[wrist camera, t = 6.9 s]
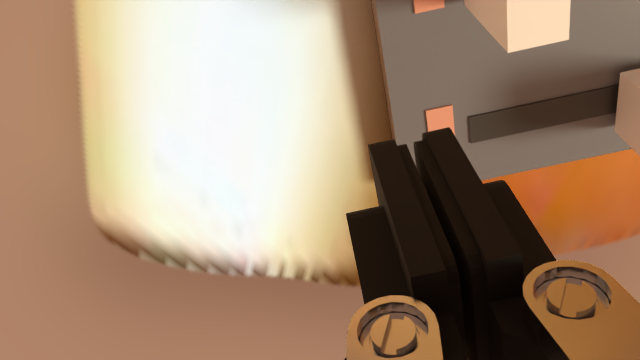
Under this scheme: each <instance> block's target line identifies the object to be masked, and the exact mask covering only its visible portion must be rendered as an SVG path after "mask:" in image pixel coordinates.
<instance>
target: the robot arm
mask: <svg viewBox="0 0 640 360" xmlns="http://www.w3.org/2000/svg"><path fill="white" fill-rule="evenodd" d="M368 147H369V154H370V159H371V165H372V170H373V176H374V181H375V187H376V192H377V198H378V203H379V207H374V208H369V209H365V210H360V211H355V212H351V213H346V216H347V221H348V226H349V231H350V236H351V241H352V246H353V250H354V255H355V260H356V265H357V270H358V275H359V280H360V284H361V289H362V294H363V299H364V304H365V305H364V306H362V307H361V308H360V309H359V310H358V311H357V312H356V313H355V314H354V316H353V317H352V319H351V321H350V323H349V327H348V332H347V357H346V358H345V360H640V303H639V302H637V300H636V299H634V297H633V296H632V295H631V294H630V293H629V292H628V291H627V290H626V289H624V287H623V286H621V285H620V284H619V283H618V281H616V280H615V279H614V278H613V277H612V276H611V275H609V274H608V273H607V272H605V271H604V270H603V269H601V268H598V267H596V266H593V265H592V264H589V263H584V262H580V261H575V260H558V261H556V259H555V258H554V256H553V255H552V253H551V251H550V250H549V248H548V247H547V245H546V244H545V242H544V241H543V239H542V237H541V236H540V234H539V233H538V231H537V230H536V228H535V227H534V225H533V223H532V222H531V220H530V219H529V217H528V216H527V214H526V213H525V211H524V209H523V208H522V206H521V205H520V203H519V202H518V200H517V199H516V197H515V195H514V194H513V192H512V191H511V189H510V188H509V186H508V185H507V184H506V182H505V181H503V180H499V181H495V182H490V183H485V184H483V183H482V182H481V180H480V178H479V176H478V175H477V173H476V171H475V170H474V168H473V166H472V164H471V163H470V161H469V159H468V157H467V156H466V154H465V152H464V151H463V149H462V147H461V145H460V144H459V142H458V140H457V139H456V137H455V135H454V133H453V132H452V130H451V129H450V127H447V128H443V129H438V130H434V131H429V132H425V133H422V140H421V141H416V142H414V153H415V161H416V165H415V163H414V161H413V158H412V156H411V154H410V151H409V149H408V147H407V145H406V144H403V145H398V146H397V144H396V141H395V140H394V139H393V140H388V141H384V142H379V143H375V144H370V145H368Z"/></svg>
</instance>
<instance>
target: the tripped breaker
mask: <svg viewBox="0 0 640 360" xmlns="http://www.w3.org/2000/svg"><path fill="white" fill-rule="evenodd" d="M464 4H465V7H466V8H467V9H468V10H469V11H470V12H471V13H472V14H473V15H474V16H475V18H476V19H477V20H478V21H479V22H480V23H481V24H482V25H483V26H484V27H485V28H486V30H487V31H488V32H489V33H490V34H491V35H492V36H493V37H494V38H495V39H496V41H497V42H498V43H499V44H500V45H501V46H502V47H503V48H504V49H505V50H506V52H507V53H510V52H515V51H519V50H524V49H529V48H533V47H538V46H542V45H547V44H551V43H556V42H560V41H565V40H569V27H570V4H571V0H464Z"/></svg>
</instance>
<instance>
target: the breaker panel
mask: <svg viewBox="0 0 640 360" xmlns="http://www.w3.org/2000/svg"><path fill="white" fill-rule="evenodd" d="M371 2H372V9H373V16H374V22H375V29H376V35H377V42H378V48H379V55H380V61H381V68H382V75H383V81H384V88H385V94H386V101H387V107H388V114H389V121H390V127H391V134H392V140H393V139H394V140H395V141H396V144H397V146H398V145H403V144H406V145H407V147H408V149H409V151H410V154H411V156H412V158H413V161H414V163H415V165H416V161H415V153H414V142H416V141H421V140H422V133H425V132H429V131H434V130H438V129H443V128H447V127H450V129H451V130H452V132H453V133H454V135H455V137H456V139H457V140H458V142H459V144H460V145H461V147H462V149H463V151H464V152H465V154H466V156H467V157H468V159H469V161H470V163H471V164H472V166H473V168H474V170H475V171H476V173H477V175H478V176H479V178H480V180H485V179H489V178H494V177H499V176H504V175H509V174H513V173H518V172H523V171H528V170H532V169H537V168H542V167H547V166H552V165H556V164H561V163H566V162H571V161H575V160H580V159H585V158H590V157H595V156H599V155H604V154H609V153H614V152H618V151H623V150H628V149H632V148H631V147H630V146H629V145H628V144H627V143H626V142H625V141H624V140H623V139H622V138H621V137H620V136H619V135H618V134H617V133H616V132H615V120H616V110H617V100H618V90H619V80H620V73H621V72H625V71H630V70H635V69H639V68H640V0H571V4H570V27H569V40H565V41H560V42H556V43H551V44H547V45H542V46H538V47H533V48H529V49H524V50H519V51H515V52H510V53H507V52H506V50H505V49H504V48H503V47H502V46H501V45H500V44H499V43H498V42H497V41H496V39H495V38H494V37H493V36H492V35H491V34H490V33H489V32H488V31H487V30H486V28H485V27H484V26H483V25H482V24H481V23H480V22H479V21H478V20H477V19H476V18H475V16H474V15H473V14H472V13H471V12H470V11H469V10H468V9H467V8H466V7H465V4H464V0H371Z"/></svg>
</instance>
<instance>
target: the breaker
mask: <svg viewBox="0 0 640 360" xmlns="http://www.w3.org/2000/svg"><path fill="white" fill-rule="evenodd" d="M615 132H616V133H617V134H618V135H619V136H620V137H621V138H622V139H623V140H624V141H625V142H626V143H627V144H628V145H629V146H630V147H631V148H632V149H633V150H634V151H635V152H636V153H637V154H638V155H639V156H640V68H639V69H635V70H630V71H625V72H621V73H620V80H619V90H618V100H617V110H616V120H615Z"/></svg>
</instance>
